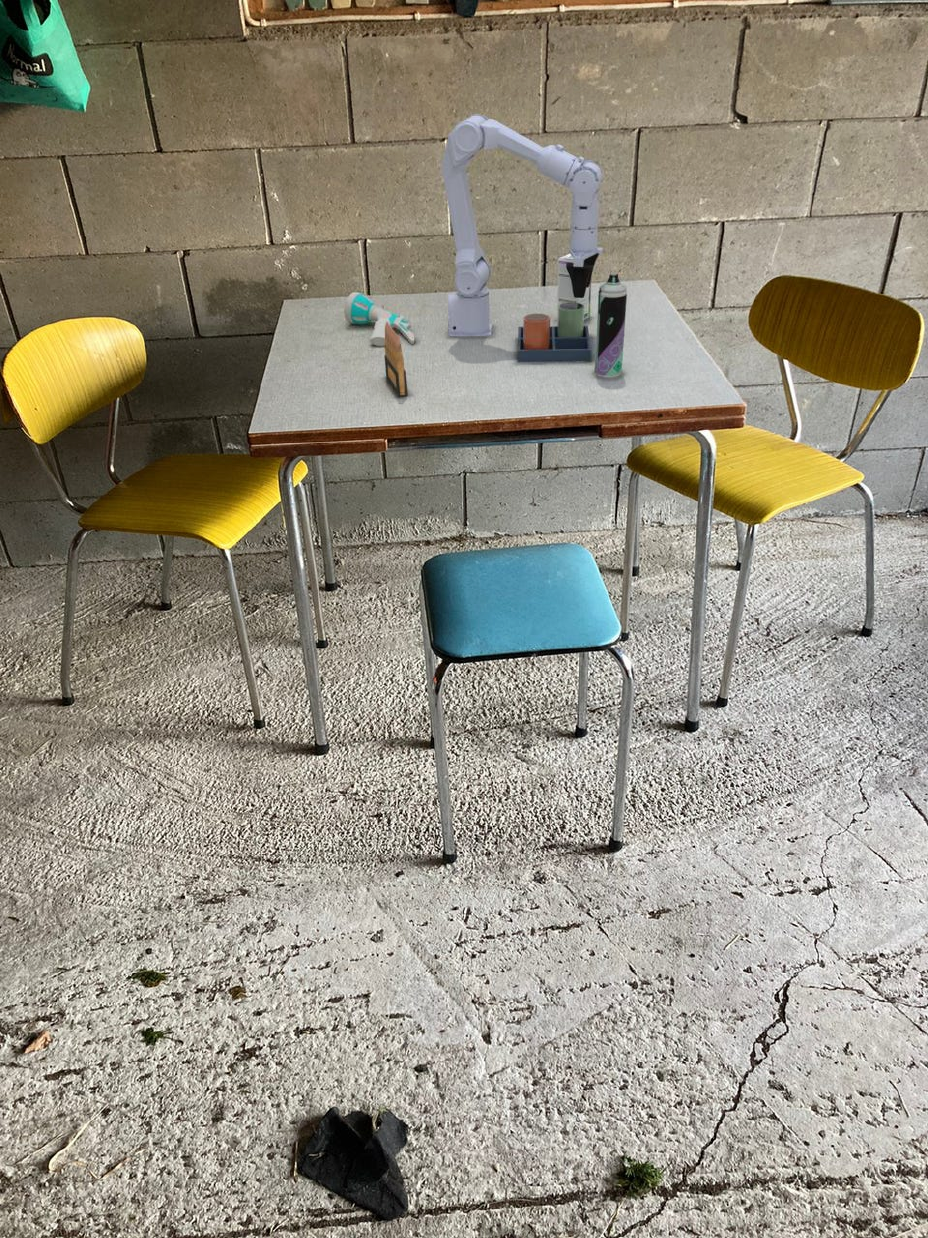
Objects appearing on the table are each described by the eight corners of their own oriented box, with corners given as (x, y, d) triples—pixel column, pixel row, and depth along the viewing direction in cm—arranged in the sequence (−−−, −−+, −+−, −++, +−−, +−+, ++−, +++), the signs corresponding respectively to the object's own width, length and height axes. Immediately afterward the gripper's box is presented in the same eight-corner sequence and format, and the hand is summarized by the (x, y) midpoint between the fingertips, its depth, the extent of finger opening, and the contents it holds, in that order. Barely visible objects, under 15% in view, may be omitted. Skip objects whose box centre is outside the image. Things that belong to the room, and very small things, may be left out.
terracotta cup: (523, 359, 200) (523, 321, 195) (523, 350, 204) (523, 313, 200) (549, 359, 199) (550, 321, 195) (549, 350, 204) (549, 312, 199)
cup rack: (517, 364, 199) (517, 350, 198) (518, 339, 212) (518, 326, 210) (590, 363, 198) (591, 349, 196) (587, 338, 211) (587, 325, 209)
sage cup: (557, 347, 205) (558, 310, 201) (556, 338, 210) (557, 301, 205) (583, 346, 205) (584, 309, 200) (582, 338, 209) (583, 301, 205)
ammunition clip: (407, 395, 187) (403, 336, 180) (398, 397, 187) (394, 337, 180) (394, 377, 195) (390, 319, 188) (386, 378, 195) (381, 320, 188)
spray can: (604, 381, 190) (610, 279, 178) (589, 372, 194) (593, 273, 182) (626, 375, 192) (633, 275, 180) (611, 367, 196) (617, 268, 184)
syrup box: (577, 324, 218) (580, 260, 210) (556, 320, 221) (557, 256, 213) (590, 318, 222) (593, 254, 214) (569, 314, 225) (571, 250, 217)
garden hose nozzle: (414, 328, 208) (420, 291, 223) (335, 323, 208) (346, 286, 223) (413, 358, 213) (419, 320, 228) (336, 353, 213) (347, 315, 227)
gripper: (598, 235, 191) (595, 302, 199) (607, 218, 202) (604, 283, 210) (564, 234, 192) (562, 301, 200) (575, 217, 204) (572, 281, 212)
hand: (581, 291), depth 205 cm, fingers open, 7 cm apart
